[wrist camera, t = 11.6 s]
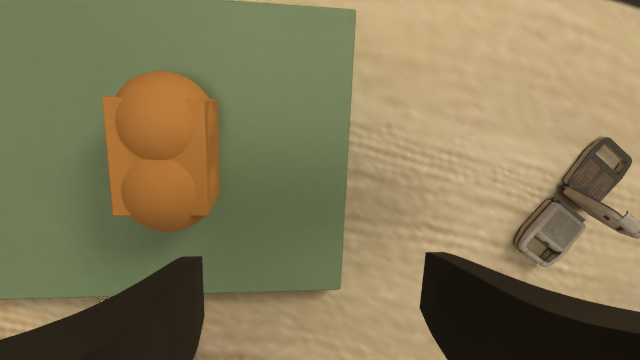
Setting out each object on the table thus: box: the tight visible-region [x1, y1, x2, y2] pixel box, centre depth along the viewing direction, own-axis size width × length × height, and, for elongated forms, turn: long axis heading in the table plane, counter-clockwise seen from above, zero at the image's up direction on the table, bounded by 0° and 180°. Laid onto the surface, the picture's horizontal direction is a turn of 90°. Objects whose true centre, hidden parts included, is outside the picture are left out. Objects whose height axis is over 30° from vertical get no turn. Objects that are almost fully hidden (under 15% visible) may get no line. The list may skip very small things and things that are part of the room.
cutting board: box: [0, 0, 356, 300], centre depth 18 cm, size 15×20×1 cm
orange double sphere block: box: [102, 71, 220, 232], centre depth 16 cm, size 7×4×4 cm, turn 178°
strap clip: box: [515, 137, 640, 267], centre depth 21 cm, size 8×3×4 cm, turn 143°
